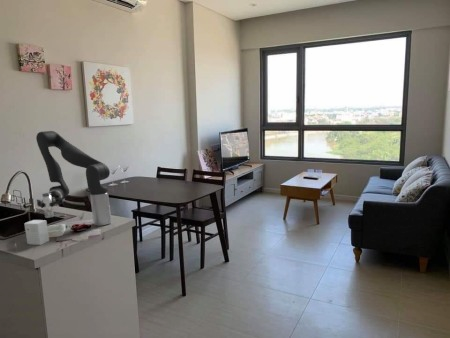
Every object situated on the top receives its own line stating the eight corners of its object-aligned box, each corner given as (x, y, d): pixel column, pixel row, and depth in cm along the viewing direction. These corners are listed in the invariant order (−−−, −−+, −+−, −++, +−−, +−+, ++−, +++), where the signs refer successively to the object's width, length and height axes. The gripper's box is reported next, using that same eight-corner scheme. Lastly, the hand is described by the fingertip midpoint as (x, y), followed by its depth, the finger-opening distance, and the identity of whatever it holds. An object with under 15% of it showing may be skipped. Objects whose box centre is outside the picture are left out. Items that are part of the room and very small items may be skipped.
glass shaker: (54, 215, 177) (51, 192, 175) (53, 217, 173) (50, 194, 171) (46, 215, 176) (43, 193, 174) (44, 218, 172) (41, 195, 170)
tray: (65, 229, 183) (64, 223, 182) (62, 235, 172) (61, 230, 172) (43, 232, 180) (42, 226, 179) (37, 239, 169) (37, 233, 169)
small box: (49, 241, 166) (46, 220, 164) (40, 245, 161) (37, 223, 159) (36, 240, 168) (33, 219, 167) (27, 244, 163) (23, 223, 161)
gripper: (38, 192, 185) (30, 199, 168) (67, 189, 189) (61, 196, 172) (40, 205, 186) (32, 214, 170) (68, 202, 190) (63, 211, 173)
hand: (46, 205), depth 171 cm, fingers closed on glass shaker, 4 cm apart
